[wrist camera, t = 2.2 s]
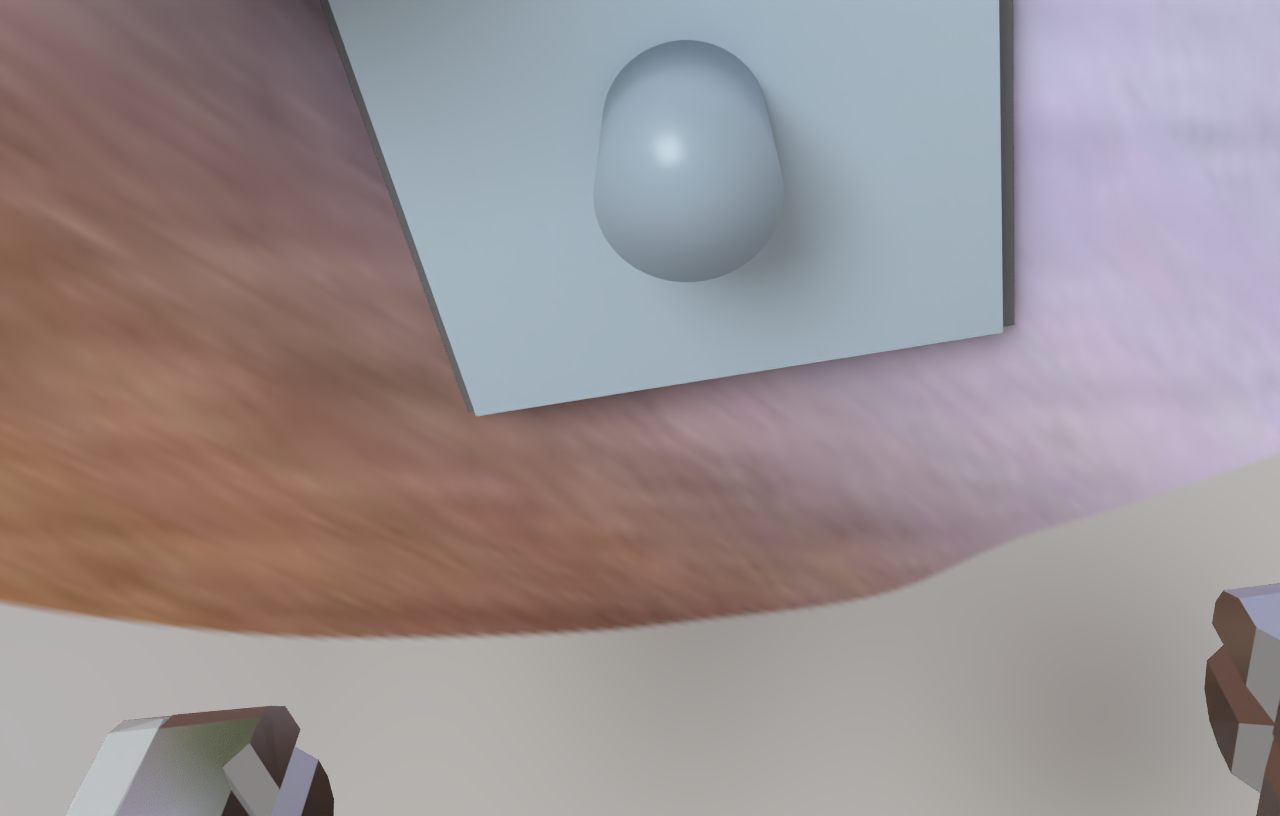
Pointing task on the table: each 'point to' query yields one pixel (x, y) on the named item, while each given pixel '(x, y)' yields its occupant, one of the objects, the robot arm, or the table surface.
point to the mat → (1006, 174)
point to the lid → (687, 181)
